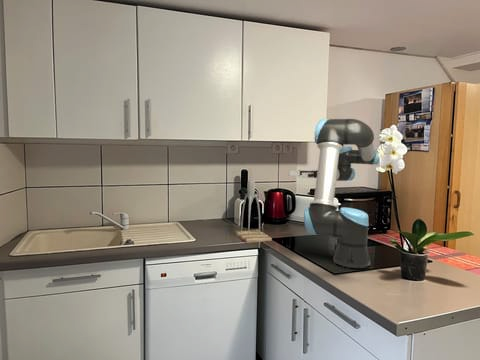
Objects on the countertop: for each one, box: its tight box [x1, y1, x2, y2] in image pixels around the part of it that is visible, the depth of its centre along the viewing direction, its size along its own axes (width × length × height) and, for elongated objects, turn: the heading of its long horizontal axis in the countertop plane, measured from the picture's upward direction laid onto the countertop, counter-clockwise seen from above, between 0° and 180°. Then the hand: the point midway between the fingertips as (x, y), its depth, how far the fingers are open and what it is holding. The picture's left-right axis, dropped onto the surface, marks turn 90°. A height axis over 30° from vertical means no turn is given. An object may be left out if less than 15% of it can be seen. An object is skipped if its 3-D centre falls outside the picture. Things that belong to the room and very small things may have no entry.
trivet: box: [234, 229, 273, 244], centre depth 188 cm, size 18×14×2 cm
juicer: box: [240, 178, 261, 238], centre depth 187 cm, size 10×9×30 cm
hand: (295, 174), depth 187 cm, fingers open, 13 cm apart
